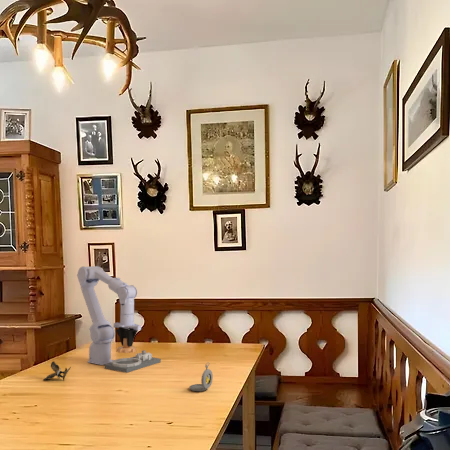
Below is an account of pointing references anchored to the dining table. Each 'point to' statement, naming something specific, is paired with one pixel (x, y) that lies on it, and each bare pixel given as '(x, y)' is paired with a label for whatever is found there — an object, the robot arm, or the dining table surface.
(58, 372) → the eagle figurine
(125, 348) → the planet gear
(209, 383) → the pocket watch
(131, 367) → the carrier plate
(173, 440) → the dining table surface
